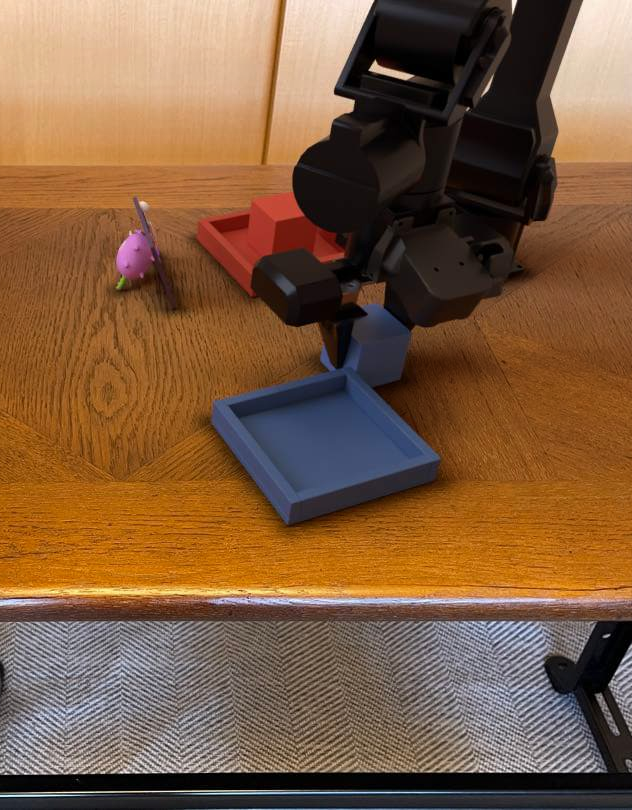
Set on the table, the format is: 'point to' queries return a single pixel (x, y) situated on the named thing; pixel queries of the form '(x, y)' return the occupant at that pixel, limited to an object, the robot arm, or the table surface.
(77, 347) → the table surface
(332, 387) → the blue tray
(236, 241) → the red tray
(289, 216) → the red block
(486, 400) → the table surface
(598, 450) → the table surface
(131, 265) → the pink spiky toy
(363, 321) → the blue block
